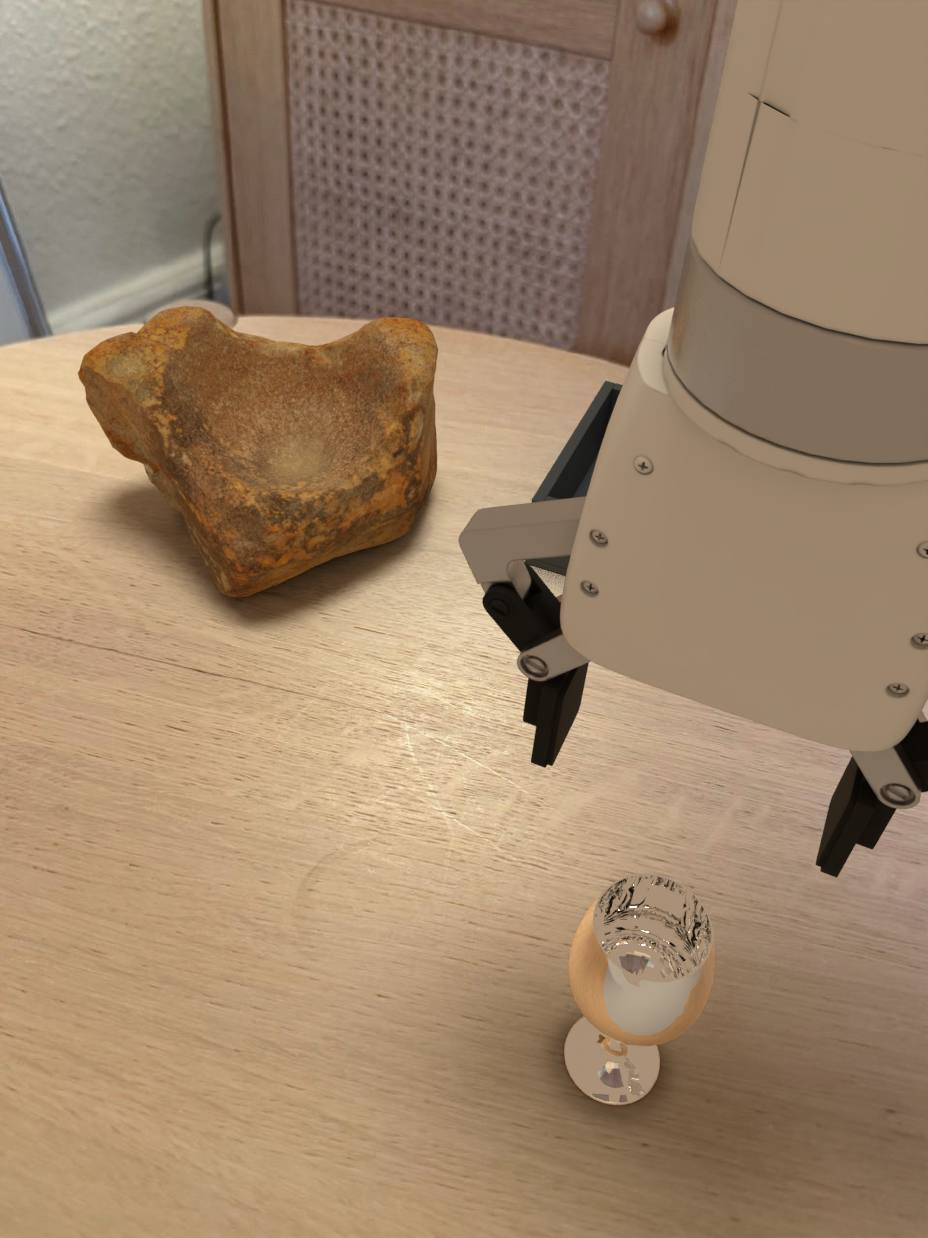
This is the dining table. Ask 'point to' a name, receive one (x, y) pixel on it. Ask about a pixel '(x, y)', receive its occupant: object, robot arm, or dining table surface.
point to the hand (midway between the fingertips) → (689, 786)
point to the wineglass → (635, 983)
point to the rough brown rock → (273, 436)
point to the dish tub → (577, 462)
